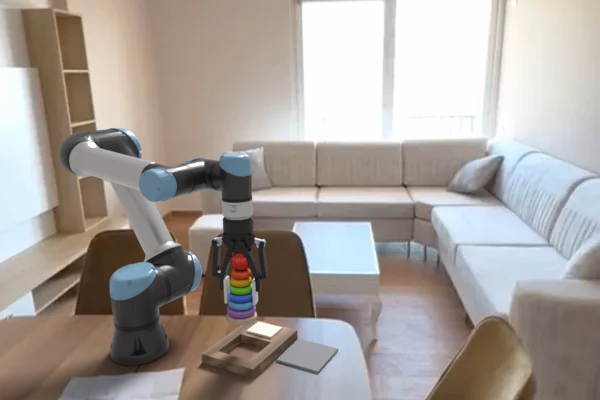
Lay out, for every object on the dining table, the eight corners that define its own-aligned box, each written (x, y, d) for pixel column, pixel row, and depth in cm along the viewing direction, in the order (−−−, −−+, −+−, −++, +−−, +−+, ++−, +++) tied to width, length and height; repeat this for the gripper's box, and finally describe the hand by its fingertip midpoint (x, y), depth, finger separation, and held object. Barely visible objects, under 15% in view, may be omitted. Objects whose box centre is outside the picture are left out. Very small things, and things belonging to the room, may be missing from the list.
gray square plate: (276, 361, 128) (276, 359, 127) (298, 340, 138) (298, 338, 138) (317, 373, 122) (317, 371, 122) (338, 350, 132) (338, 348, 132)
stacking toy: (252, 328, 124) (249, 258, 120) (222, 325, 126) (218, 256, 122) (260, 314, 132) (258, 247, 127) (232, 311, 133) (229, 246, 129)
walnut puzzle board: (202, 362, 128) (201, 351, 127) (250, 326, 147) (250, 316, 146) (253, 378, 120) (252, 367, 120) (297, 338, 139) (297, 328, 138)
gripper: (194, 219, 120) (199, 306, 126) (273, 221, 117) (275, 310, 123) (204, 211, 127) (209, 293, 133) (279, 213, 124) (281, 298, 130)
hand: (241, 301), depth 128 cm, fingers closed on stacking toy, 7 cm apart
